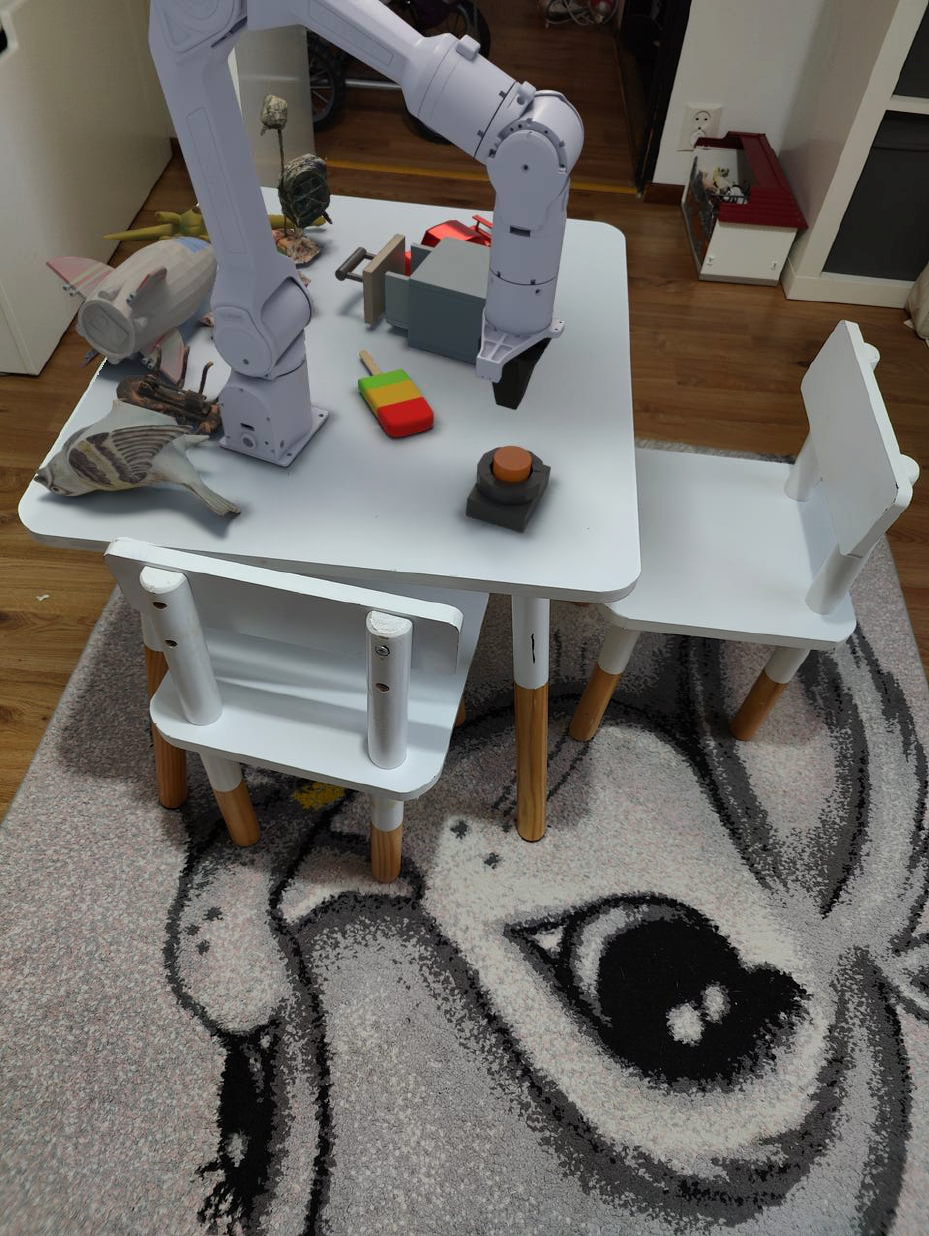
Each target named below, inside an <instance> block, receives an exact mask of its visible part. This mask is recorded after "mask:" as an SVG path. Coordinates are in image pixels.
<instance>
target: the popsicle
mask: <svg viewBox="0 0 929 1236" xmlns="http://www.w3.org/2000/svg"><path fill="white" fill-rule="evenodd" d="M358 355H359V357H360V358H361V360H362V361H363V363H364V365H365V366H366V368H367V369H368V370H369V372H370V374H371V375H369V376H366V377H361V378H358V380H357V388H358V391H359V392H360V394H361V395H362V397H363V398H364V400H365V402H366V403H367V404H368V406H369V407H370V409H371V411H372V412H373V414H374V416H375V417H376V419H377V420H378V422H379V423H380V424H381V426H382V428H383V429H384V431H385V432H386V434H387V435H388V436H390V437H393V438H402V437H407V436H410V435H415V434H417V433H421V432H424V431H428V430H430V429H431V428H432V427H433V425H434V424H435V423H434V421H435V414H434V411H433V409H432V407H431V406H430V404H429V403H428V402H427V401H426V399H425V397H424V396H423V394H422V393H421V392H420V390H419V389H418V387H417V386H416V385H415V383H414V382H413V381H412V379H411V377H410V376H409V375H408V374H407V372H406V371H405V369H403V368H399V369H396V370H391V371H386V372H383V373H382V371H381V369H380V368H379V366H378V365H377V363H376V362H375V361H374V359H373V358H372V356H371V355H370V353H369V352H368V351H367V350H365V349H363V350H359V351H358Z"/></svg>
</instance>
